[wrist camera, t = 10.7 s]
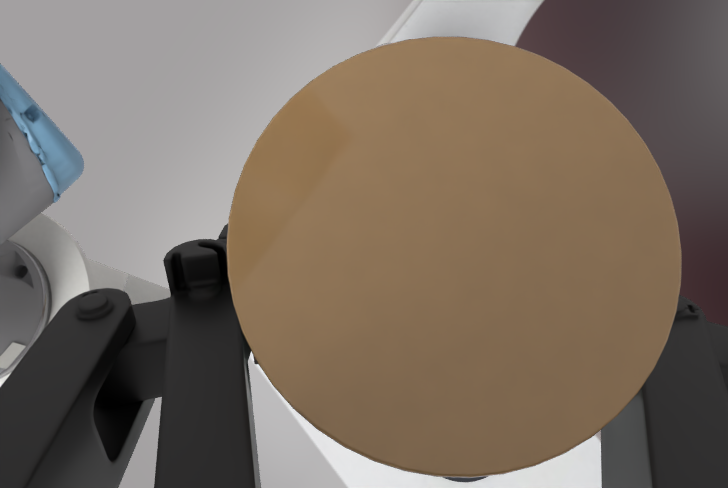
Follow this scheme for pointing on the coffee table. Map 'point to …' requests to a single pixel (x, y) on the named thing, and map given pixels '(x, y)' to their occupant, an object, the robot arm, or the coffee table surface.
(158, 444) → the robot arm
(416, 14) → the coffee table surface
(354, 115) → the ceramic jar
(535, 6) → the coffee table surface
